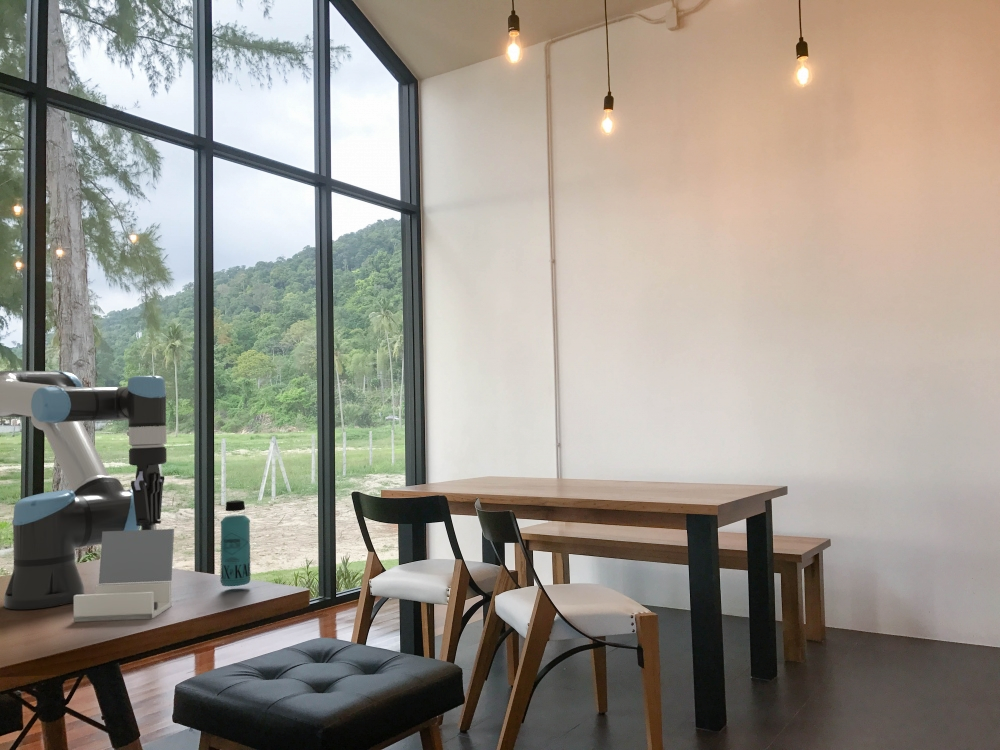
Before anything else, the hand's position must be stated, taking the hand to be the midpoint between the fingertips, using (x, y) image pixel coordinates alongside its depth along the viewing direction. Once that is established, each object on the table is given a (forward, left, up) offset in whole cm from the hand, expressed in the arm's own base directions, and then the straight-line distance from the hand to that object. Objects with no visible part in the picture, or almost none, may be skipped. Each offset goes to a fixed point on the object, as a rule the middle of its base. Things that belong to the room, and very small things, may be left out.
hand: (149, 555), depth 172 cm
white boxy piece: (+13, 0, -9) cm, 16 cm away
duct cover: (+7, 0, +1) cm, 7 cm away
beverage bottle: (-5, +17, -10) cm, 20 cm away
